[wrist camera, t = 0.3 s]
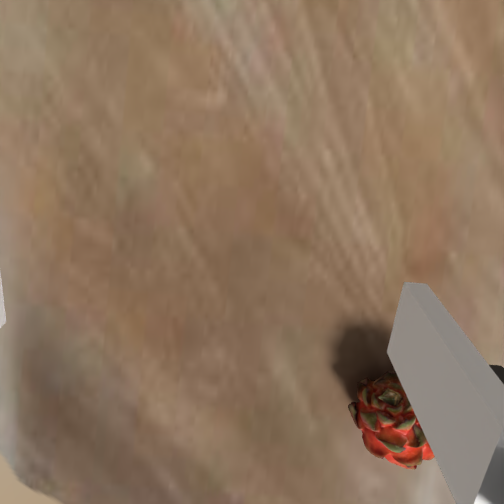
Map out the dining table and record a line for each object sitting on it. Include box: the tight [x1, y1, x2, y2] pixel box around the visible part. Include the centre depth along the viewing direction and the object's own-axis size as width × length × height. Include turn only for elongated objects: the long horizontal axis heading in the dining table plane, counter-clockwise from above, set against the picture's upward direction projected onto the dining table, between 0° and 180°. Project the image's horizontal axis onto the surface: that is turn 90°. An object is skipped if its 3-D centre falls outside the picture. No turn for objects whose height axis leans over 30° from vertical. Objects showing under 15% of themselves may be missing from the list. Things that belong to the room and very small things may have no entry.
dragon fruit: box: [348, 371, 435, 469], centre depth 48 cm, size 8×8×12 cm
